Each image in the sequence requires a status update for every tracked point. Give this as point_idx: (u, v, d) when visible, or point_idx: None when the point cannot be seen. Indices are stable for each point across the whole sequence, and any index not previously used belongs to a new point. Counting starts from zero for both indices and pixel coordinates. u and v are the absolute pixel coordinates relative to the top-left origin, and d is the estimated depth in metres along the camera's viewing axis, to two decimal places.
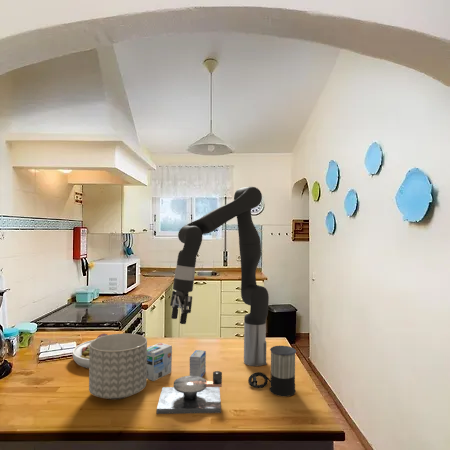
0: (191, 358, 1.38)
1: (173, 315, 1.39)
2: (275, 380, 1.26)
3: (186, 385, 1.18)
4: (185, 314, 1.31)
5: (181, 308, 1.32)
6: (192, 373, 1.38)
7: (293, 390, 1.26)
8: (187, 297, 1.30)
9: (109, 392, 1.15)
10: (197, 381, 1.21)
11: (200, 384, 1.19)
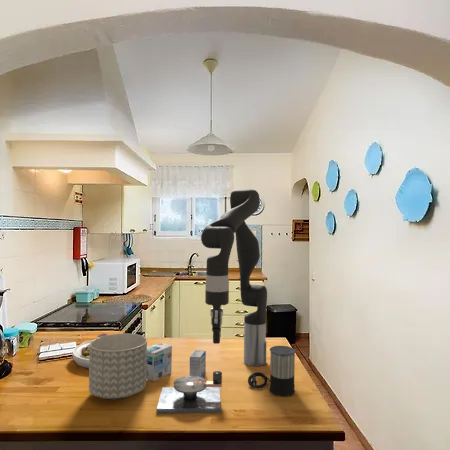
0: (191, 358, 1.38)
1: None
2: (275, 380, 1.26)
3: (186, 385, 1.18)
4: (216, 332, 1.15)
5: None
6: (192, 373, 1.38)
7: (292, 390, 1.26)
8: (213, 320, 1.10)
9: (109, 392, 1.15)
10: (197, 381, 1.21)
11: (200, 384, 1.19)
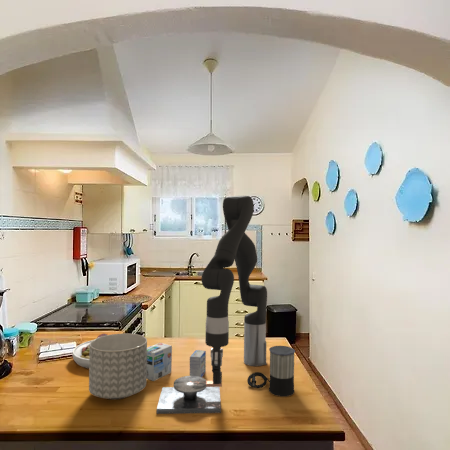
0: (191, 358, 1.38)
1: None
2: (274, 380, 1.26)
3: (186, 385, 1.18)
4: (216, 373, 1.16)
5: None
6: (192, 373, 1.38)
7: (292, 390, 1.26)
8: (213, 363, 1.12)
9: (109, 392, 1.15)
10: (197, 381, 1.21)
11: (200, 384, 1.19)
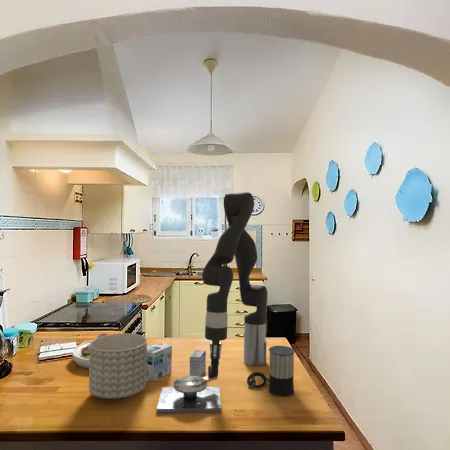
0: (191, 358, 1.38)
1: None
2: (274, 380, 1.26)
3: (190, 385, 1.18)
4: (215, 366, 1.21)
5: None
6: (192, 373, 1.38)
7: (292, 390, 1.26)
8: (212, 356, 1.17)
9: (109, 392, 1.15)
10: (194, 380, 1.22)
11: (201, 381, 1.21)
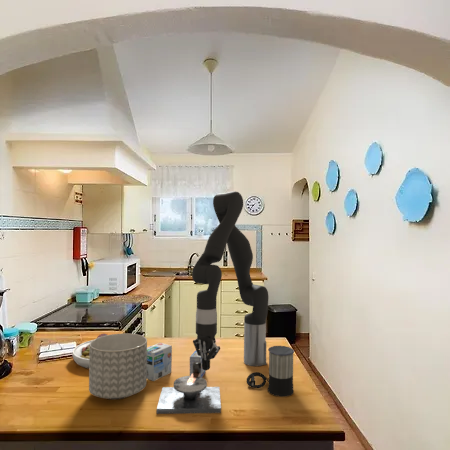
0: (191, 358, 1.38)
1: None
2: (273, 380, 1.26)
3: (195, 384, 1.19)
4: (208, 360, 1.27)
5: (205, 354, 1.27)
6: None
7: (291, 390, 1.26)
8: (215, 350, 1.23)
9: (109, 392, 1.15)
10: (189, 379, 1.23)
11: (196, 378, 1.23)
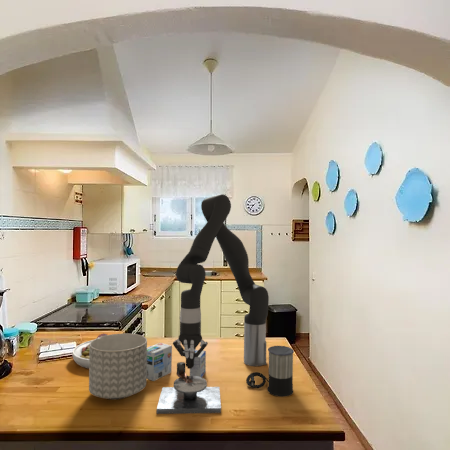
0: None
1: None
2: (273, 380, 1.26)
3: (197, 382, 1.20)
4: (194, 358, 1.29)
5: (191, 353, 1.28)
6: (192, 373, 1.38)
7: (291, 390, 1.26)
8: (206, 345, 1.28)
9: (109, 392, 1.15)
10: (185, 380, 1.22)
11: (190, 378, 1.24)
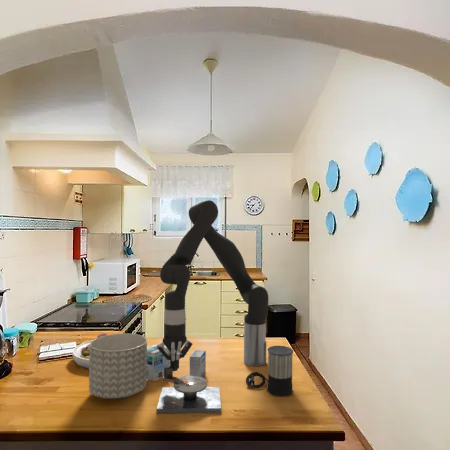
0: (191, 358, 1.38)
1: None
2: (273, 380, 1.26)
3: (196, 381, 1.21)
4: None
5: (178, 354, 1.27)
6: (192, 373, 1.38)
7: (290, 390, 1.26)
8: None
9: (109, 392, 1.15)
10: (182, 382, 1.20)
11: (184, 378, 1.23)
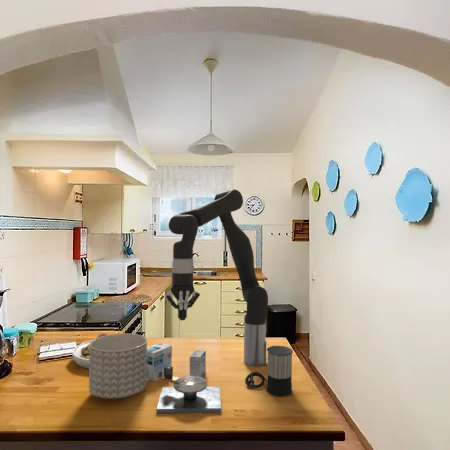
0: (191, 358, 1.38)
1: None
2: (272, 380, 1.26)
3: (196, 381, 1.21)
4: None
5: (186, 304, 1.28)
6: (192, 373, 1.38)
7: (290, 390, 1.26)
8: None
9: (109, 392, 1.15)
10: (182, 382, 1.20)
11: (184, 378, 1.23)
